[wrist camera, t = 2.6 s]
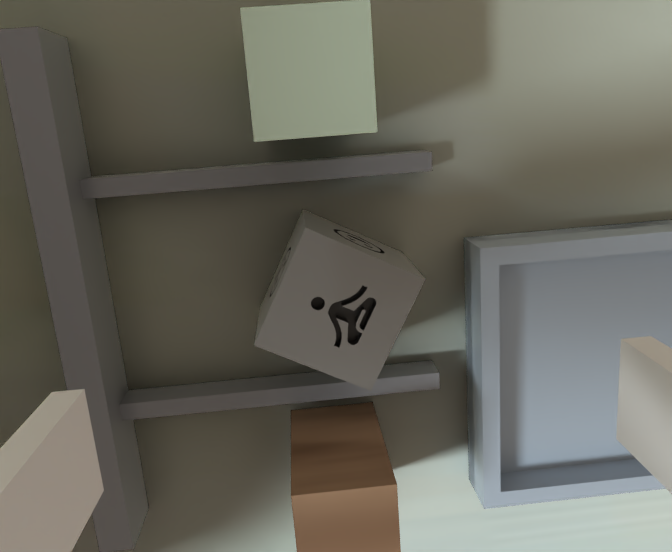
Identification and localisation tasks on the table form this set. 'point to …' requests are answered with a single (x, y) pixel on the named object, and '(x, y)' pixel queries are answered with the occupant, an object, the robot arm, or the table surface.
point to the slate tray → (558, 356)
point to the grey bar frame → (94, 287)
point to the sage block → (310, 69)
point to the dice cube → (337, 301)
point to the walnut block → (342, 481)
